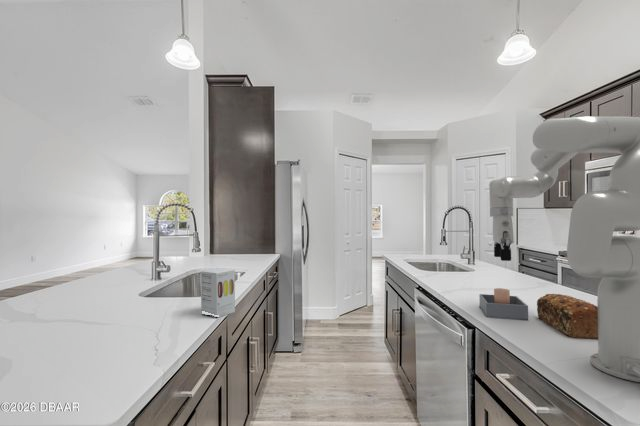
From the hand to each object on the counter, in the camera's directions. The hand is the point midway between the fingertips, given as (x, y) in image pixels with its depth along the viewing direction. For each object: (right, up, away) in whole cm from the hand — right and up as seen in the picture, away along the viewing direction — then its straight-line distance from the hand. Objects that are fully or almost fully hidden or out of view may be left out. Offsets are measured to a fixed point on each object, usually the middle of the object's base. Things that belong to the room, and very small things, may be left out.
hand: (502, 258), depth 116 cm
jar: (0, -20, 0) cm, 20 cm away
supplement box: (-107, -22, +6) cm, 110 cm away
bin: (0, -20, 0) cm, 20 cm away
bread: (+12, -20, -15) cm, 28 cm away
